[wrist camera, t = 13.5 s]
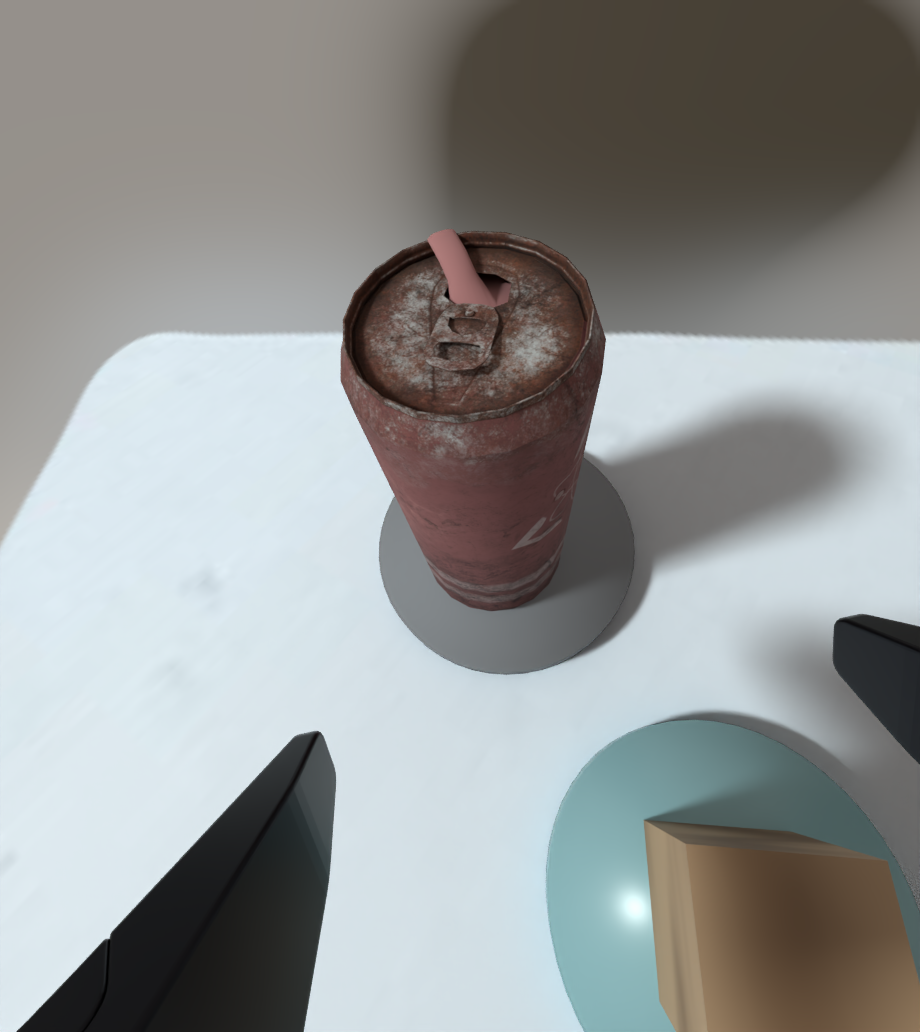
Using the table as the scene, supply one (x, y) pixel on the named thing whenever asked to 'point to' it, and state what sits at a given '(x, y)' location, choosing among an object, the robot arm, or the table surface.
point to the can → (478, 402)
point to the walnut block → (776, 933)
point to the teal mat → (684, 799)
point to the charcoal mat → (537, 623)
